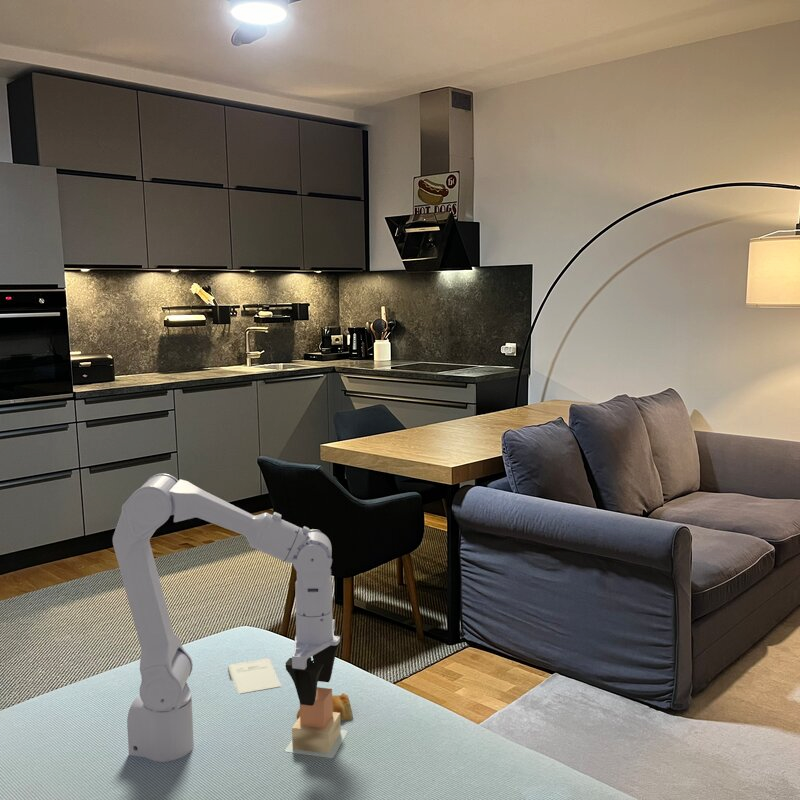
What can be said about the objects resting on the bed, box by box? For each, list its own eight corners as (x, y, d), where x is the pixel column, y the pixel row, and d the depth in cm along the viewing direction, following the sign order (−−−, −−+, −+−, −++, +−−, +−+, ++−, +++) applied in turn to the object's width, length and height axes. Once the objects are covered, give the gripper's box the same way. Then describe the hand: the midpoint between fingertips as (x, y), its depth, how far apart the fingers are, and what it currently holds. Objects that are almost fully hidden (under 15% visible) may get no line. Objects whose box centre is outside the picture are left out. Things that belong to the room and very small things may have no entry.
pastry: (300, 735, 130) (300, 713, 130) (293, 715, 136) (292, 694, 136) (355, 725, 133) (355, 703, 132) (346, 706, 139) (345, 685, 139)
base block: (292, 748, 124) (292, 727, 124) (305, 728, 130) (305, 708, 129) (328, 753, 123) (328, 732, 122) (340, 733, 128) (340, 712, 128)
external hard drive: (237, 702, 142) (227, 672, 153) (282, 694, 144) (269, 665, 156) (237, 694, 141) (227, 664, 153) (282, 685, 144) (269, 657, 156)
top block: (300, 725, 124) (299, 698, 124) (309, 712, 128) (308, 686, 128) (324, 728, 123) (323, 701, 123) (332, 715, 127) (332, 688, 127)
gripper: (323, 630, 116) (324, 718, 117) (352, 595, 130) (353, 673, 131) (278, 626, 117) (280, 712, 119) (311, 591, 131) (312, 669, 133)
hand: (315, 692), depth 125 cm, fingers open, 7 cm apart
